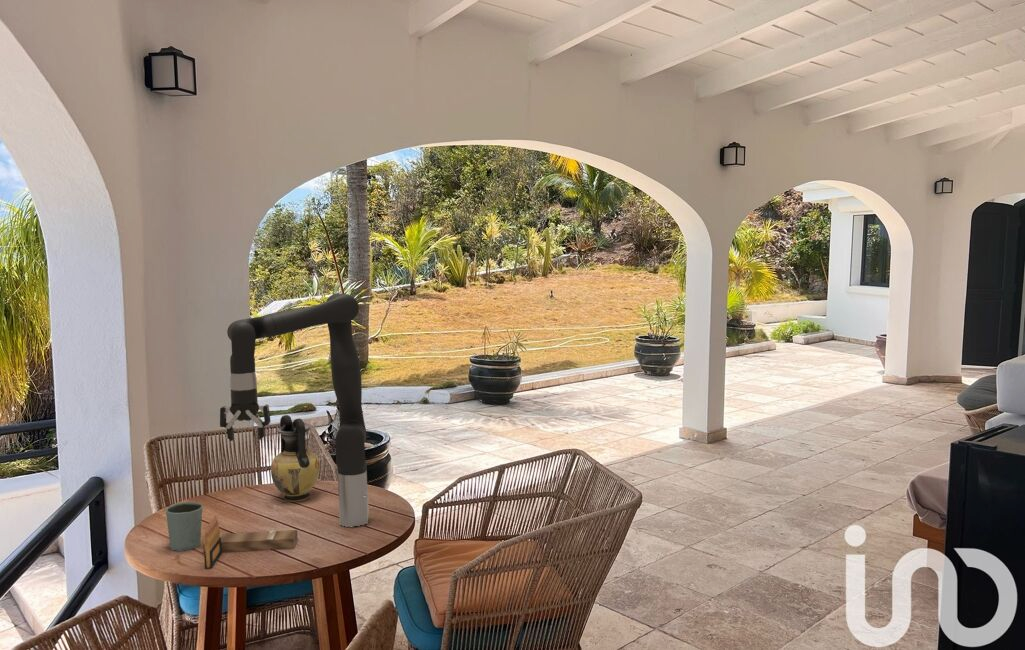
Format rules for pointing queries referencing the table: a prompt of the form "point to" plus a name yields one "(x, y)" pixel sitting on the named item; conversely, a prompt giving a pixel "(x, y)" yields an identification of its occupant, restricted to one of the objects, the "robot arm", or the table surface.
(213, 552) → the ammunition clip
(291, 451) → the amphora
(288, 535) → the plank
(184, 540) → the grey-green cup
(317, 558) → the table surface
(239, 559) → the table surface
